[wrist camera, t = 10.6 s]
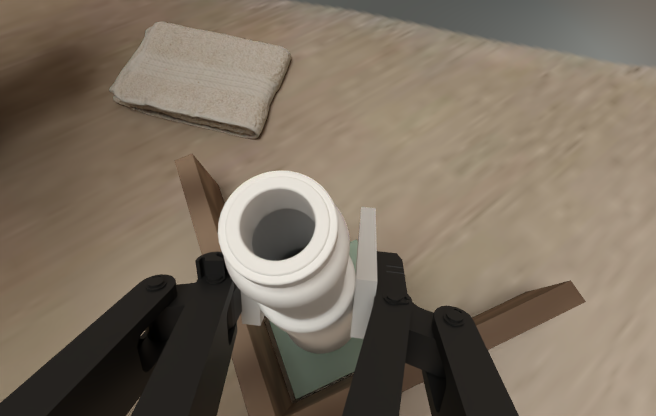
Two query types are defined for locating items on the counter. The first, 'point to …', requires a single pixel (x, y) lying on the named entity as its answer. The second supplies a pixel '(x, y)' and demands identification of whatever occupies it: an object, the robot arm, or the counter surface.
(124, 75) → the washcloth
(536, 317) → the walnut corner walls
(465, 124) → the counter surface
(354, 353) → the mat
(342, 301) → the cosmetic bottle
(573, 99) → the counter surface
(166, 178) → the counter surface
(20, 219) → the counter surface
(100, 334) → the robot arm
